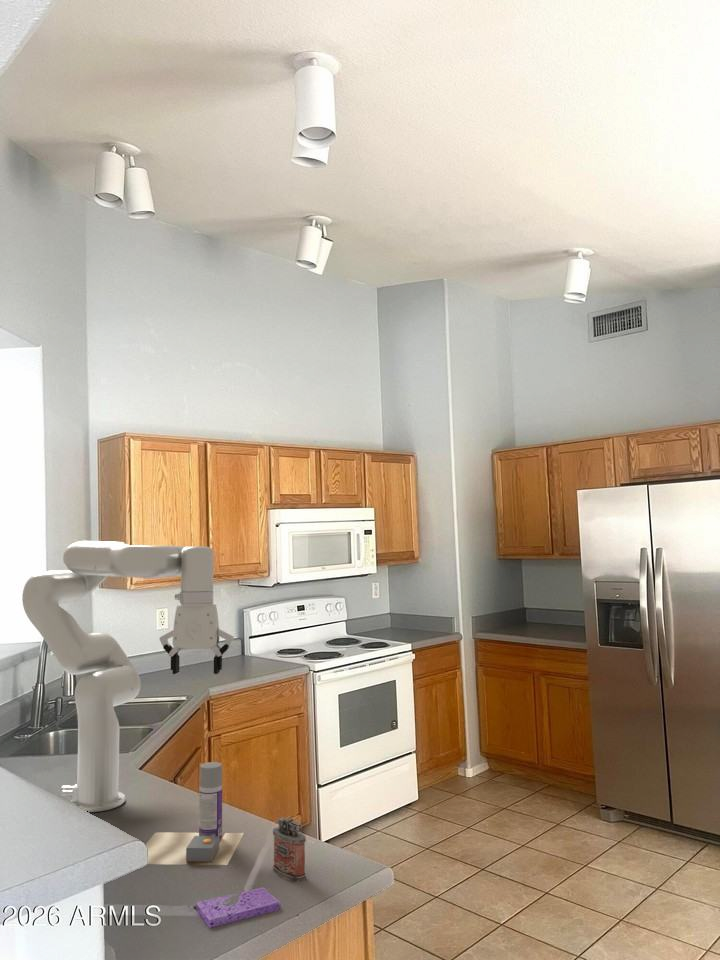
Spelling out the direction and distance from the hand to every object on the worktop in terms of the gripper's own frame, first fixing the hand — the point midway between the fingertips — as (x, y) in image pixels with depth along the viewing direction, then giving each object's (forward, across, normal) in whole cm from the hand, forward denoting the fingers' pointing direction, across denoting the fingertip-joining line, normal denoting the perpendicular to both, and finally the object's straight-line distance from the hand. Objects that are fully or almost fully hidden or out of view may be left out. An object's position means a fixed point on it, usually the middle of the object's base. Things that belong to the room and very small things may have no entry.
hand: (196, 673), depth 175 cm
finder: (+31, +8, -25) cm, 41 cm away
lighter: (+32, +26, -30) cm, 51 cm away
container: (+31, +8, -17) cm, 36 cm away
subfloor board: (+32, +5, -21) cm, 39 cm away
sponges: (+33, +19, -44) cm, 58 cm away
